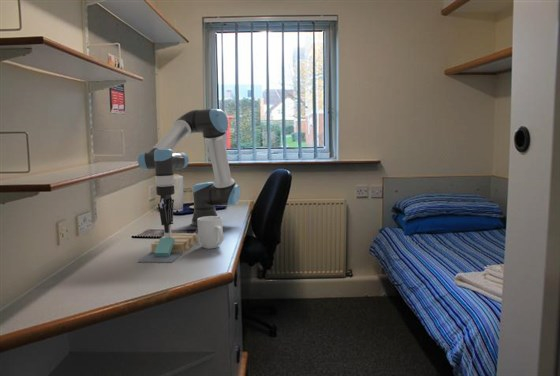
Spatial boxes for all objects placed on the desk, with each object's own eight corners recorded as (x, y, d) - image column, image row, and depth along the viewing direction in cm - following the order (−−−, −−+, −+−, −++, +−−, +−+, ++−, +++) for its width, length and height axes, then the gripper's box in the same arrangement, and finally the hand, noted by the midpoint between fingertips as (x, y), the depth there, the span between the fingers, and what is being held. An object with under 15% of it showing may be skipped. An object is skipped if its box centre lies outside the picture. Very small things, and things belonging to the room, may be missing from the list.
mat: (151, 253, 197) (151, 252, 197) (183, 253, 195) (183, 252, 195) (138, 262, 183) (137, 261, 183) (171, 262, 181) (171, 261, 181)
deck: (168, 241, 216) (167, 233, 216) (197, 241, 215) (196, 233, 214) (151, 253, 197) (151, 244, 196) (183, 253, 195) (182, 244, 194)
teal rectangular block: (161, 241, 197) (160, 237, 196) (174, 241, 196) (173, 237, 195) (155, 256, 190) (153, 252, 189) (169, 256, 189) (167, 252, 188)
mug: (233, 248, 201) (232, 219, 199) (212, 253, 194) (210, 222, 192) (214, 242, 212) (213, 214, 210) (193, 247, 205) (192, 218, 203)
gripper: (162, 183, 201) (165, 236, 204) (150, 187, 188) (154, 243, 191) (178, 183, 200) (181, 236, 203) (168, 187, 187) (171, 243, 190)
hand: (168, 239), depth 197 cm, fingers closed
